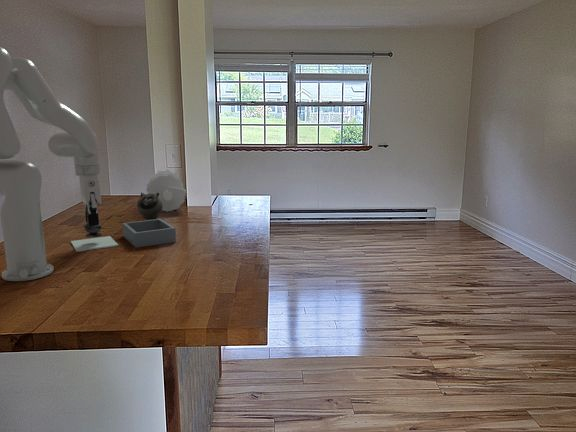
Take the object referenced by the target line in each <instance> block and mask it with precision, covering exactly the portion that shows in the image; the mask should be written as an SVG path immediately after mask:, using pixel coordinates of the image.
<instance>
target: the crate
mask: <svg viewBox="0 0 576 432" xmlns="http://www.w3.org/2000/svg"><path fill="white" fill-rule="evenodd" d="M144 220H145V219H144ZM122 235H123V237H124V238H125V240H127V241H128V242H129V243H130V244H131V245H132V246H133V247H134V248H135V249H136V248H142V247H143V248H144V247H150V246H156V245H162V244H163V245H164V244H170V243H176V242H177V235H176V227H174V226H173V225H171V224H169V223H168V222H167V221H165V220H163V219H162V218H158V219H154V220H145V221H143V220H139V221H138V220H137V221H130V222H129V221H128V222H122Z"/></svg>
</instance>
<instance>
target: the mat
mask: <svg viewBox="0 0 576 432" xmlns="http://www.w3.org/2000/svg"><path fill="white" fill-rule="evenodd" d="M70 243H71V245H72V247H73V248H74V250H75V251H76V253H78V252H85V251H94V250H101V249H107V248H114V247H118V246H119V244H118V243H117V242H116V241H115V239H114V238H113V237H112V236H110V235H108V236H98V237H90V238H84V239H76V240H70Z"/></svg>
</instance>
